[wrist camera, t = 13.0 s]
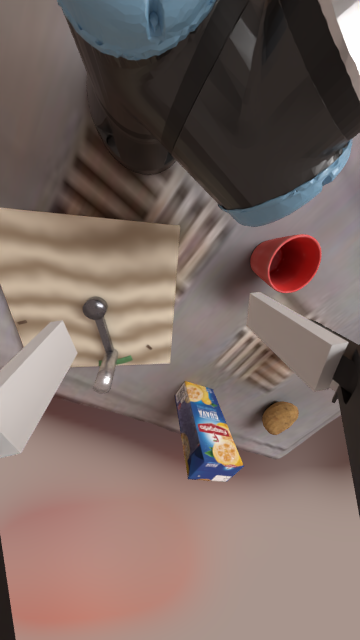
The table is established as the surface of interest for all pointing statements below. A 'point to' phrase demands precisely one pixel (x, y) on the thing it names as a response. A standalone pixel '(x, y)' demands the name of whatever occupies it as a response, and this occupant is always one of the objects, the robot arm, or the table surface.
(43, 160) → the table surface
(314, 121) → the robot arm
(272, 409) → the potato
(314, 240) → the flower pot
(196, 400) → the beverage box
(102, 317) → the grey long handled part
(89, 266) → the dial board
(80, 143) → the table surface
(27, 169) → the table surface
